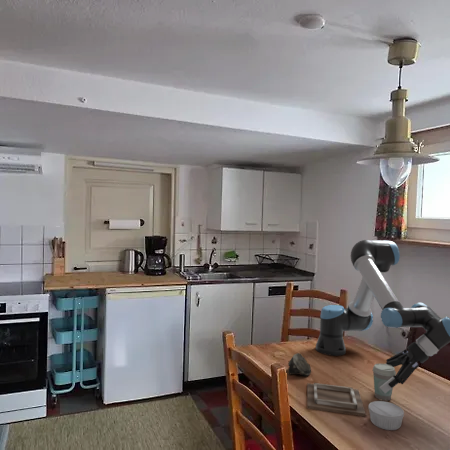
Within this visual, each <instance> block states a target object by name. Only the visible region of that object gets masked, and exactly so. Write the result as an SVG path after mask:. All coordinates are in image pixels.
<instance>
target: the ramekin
mask: <svg viewBox="0 0 450 450" xmlns="http://www.w3.org/2000/svg"><path fill="white" fill-rule="evenodd" d="M367 409H368V411H369V412H368V413H369V419H370V422H371V423H372V424H373V425H374V426H376V427H377V428H379V429H383V430H385V431H396V430H399V428H401V426H402V423H403V417H405V411H404V410H403V408H401V406H399V405H396V404H394V403H392V402H390V401H389V402H388V401H384V400H374V401H372V402H370V403H369V404H368V408H367Z"/></svg>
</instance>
